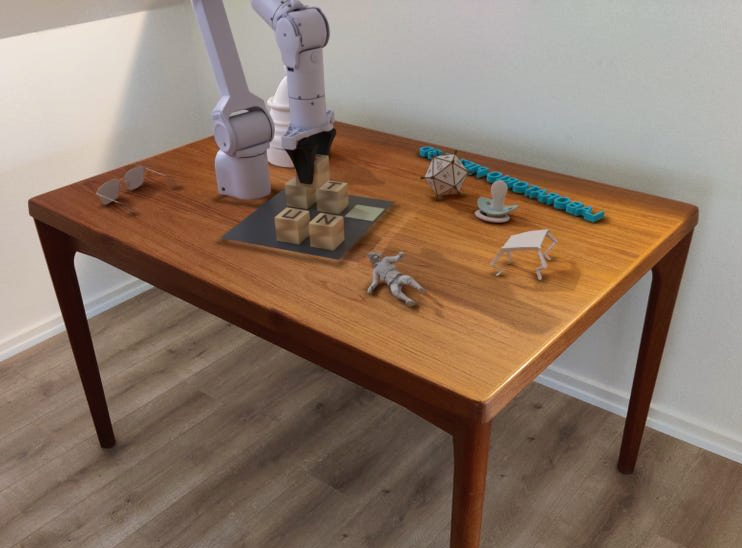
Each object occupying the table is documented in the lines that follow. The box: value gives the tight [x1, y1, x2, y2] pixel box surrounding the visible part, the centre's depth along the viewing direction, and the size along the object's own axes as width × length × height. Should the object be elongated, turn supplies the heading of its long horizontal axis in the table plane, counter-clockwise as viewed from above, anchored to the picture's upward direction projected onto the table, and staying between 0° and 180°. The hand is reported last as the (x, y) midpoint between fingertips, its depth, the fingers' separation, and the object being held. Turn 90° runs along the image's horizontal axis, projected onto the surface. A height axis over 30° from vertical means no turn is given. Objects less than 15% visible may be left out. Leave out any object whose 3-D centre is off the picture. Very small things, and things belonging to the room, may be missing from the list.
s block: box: [294, 154, 331, 189], centre depth 121 cm, size 4×4×4 cm
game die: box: [419, 149, 473, 201], centre depth 135 cm, size 9×8×10 cm
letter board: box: [219, 176, 395, 261], centre depth 127 cm, size 22×24×5 cm
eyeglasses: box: [95, 165, 179, 215], centre depth 139 cm, size 14×8×4 cm, turn 155°
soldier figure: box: [366, 251, 427, 307], centre depth 108 cm, size 8×5×12 cm
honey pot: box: [266, 64, 295, 168], centre depth 151 cm, size 13×13×18 cm
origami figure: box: [489, 229, 559, 281], centre depth 112 cm, size 12×8×5 cm
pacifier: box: [474, 180, 519, 224], centre depth 127 cm, size 7×6×6 cm
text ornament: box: [419, 146, 606, 223], centre depth 141 cm, size 45×3×1 cm, turn 39°
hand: (312, 178), depth 122 cm, fingers closed on s block, 4 cm apart
